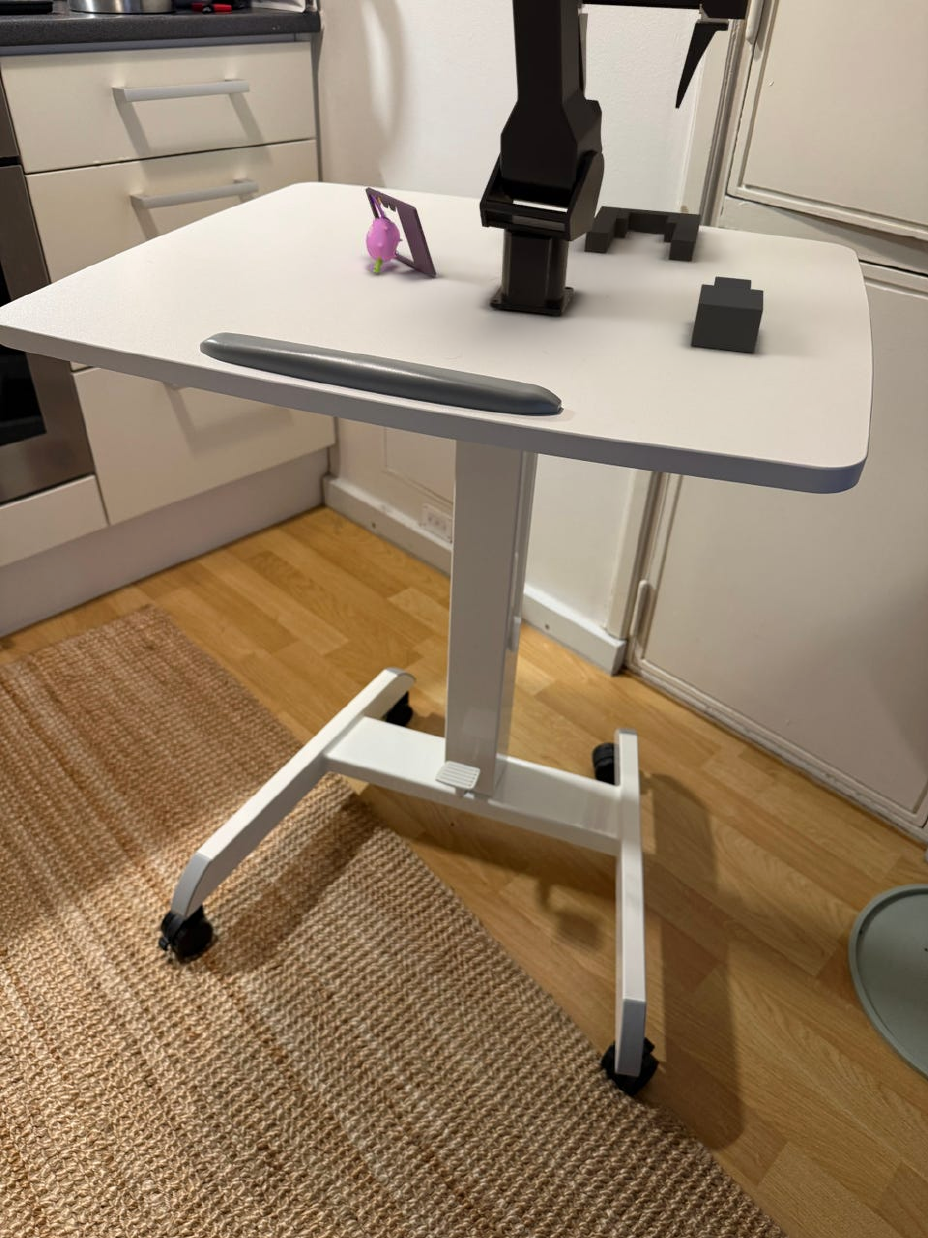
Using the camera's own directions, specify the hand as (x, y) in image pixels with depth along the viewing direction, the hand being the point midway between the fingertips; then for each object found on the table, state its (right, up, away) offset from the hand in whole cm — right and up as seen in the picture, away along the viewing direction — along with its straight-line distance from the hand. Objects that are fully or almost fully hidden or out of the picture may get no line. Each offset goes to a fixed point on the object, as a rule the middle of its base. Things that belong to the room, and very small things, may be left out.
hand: (628, 104), depth 86 cm
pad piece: (+6, -25, -11) cm, 28 cm away
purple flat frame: (-23, -15, +1) cm, 28 cm away
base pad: (+3, -9, +10) cm, 14 cm away
